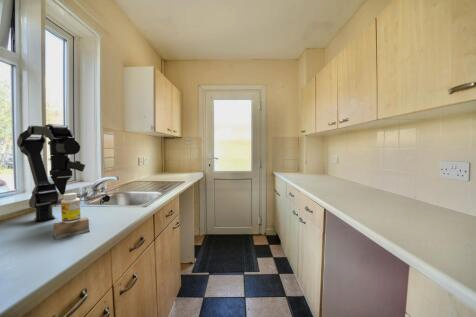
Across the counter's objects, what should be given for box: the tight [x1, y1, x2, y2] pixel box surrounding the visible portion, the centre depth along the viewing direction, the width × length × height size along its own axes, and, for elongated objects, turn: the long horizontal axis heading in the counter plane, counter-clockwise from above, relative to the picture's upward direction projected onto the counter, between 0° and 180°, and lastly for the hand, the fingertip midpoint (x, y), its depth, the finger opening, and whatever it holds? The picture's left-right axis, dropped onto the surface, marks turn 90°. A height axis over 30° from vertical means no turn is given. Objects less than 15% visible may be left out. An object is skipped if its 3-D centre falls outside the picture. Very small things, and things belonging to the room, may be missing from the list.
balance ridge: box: [53, 216, 91, 240], centre depth 83 cm, size 10×6×4 cm, turn 134°
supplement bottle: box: [60, 192, 81, 223], centre depth 83 cm, size 6×6×10 cm
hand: (61, 193), depth 92 cm, fingers open, 9 cm apart
